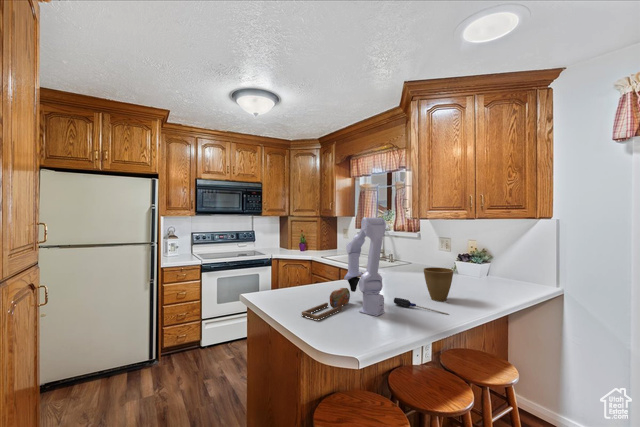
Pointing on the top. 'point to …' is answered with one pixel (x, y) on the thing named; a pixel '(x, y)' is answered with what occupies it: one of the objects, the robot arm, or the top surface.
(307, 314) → the brown beaded frame
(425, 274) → the plant pot
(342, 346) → the top surface
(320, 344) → the top surface
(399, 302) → the screwdriver
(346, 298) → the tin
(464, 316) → the top surface
